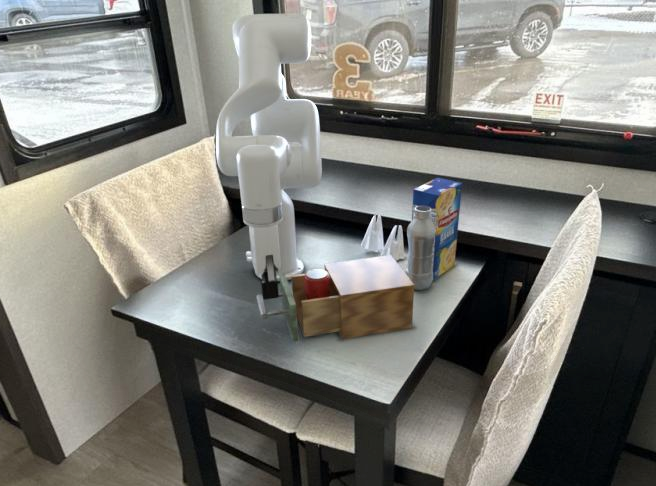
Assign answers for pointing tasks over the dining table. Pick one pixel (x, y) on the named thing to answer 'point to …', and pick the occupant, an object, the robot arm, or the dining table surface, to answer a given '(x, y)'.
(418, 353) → the dining table surface
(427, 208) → the silver bottle
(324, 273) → the can
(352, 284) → the cabinet
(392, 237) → the shaker set
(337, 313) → the drawer
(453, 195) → the blue tall box
